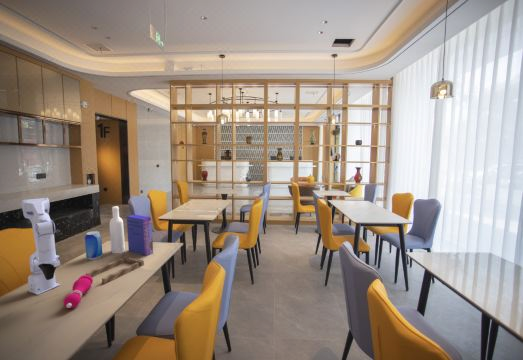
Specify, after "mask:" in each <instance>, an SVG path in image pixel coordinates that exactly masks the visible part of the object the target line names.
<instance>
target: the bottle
mask: <svg viewBox="0 0 523 360" xmlns="http://www.w3.org/2000/svg"><path fill="white" fill-rule="evenodd" d="M111 211H112V218H111V219H110V221H109V237H110V250H111V253H112V254H121V253H123V252H125V251H126V245H125V244H126V242H125V230H124V220H123V218H122V217H120V208H119V206H118V205H116V206H112V207H111Z"/></svg>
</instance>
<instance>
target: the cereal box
mask: <svg viewBox="0 0 523 360" xmlns="http://www.w3.org/2000/svg"><path fill="white" fill-rule="evenodd" d="M152 222H153V221H152V217H150V216H146V215H145V216H144V215H138V214H129V215H126V227H127V228H126V229H127V244H128V245H127V246H128V252H131V253H135V254H138V255H142V256H147V257H148V256H150V255H153V254H154V246H153V245H154V242H153V227H152V226H153V225H152V224H153V223H152Z"/></svg>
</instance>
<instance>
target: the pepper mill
mask: <svg viewBox="0 0 523 360" xmlns="http://www.w3.org/2000/svg"><path fill="white" fill-rule="evenodd" d="M93 283H94V279H93V277H91V276H89V275H86V274H84V275H81V276H79V278H78V279H76V280H75V281H74V283H72V287H71V288H72V291H71V292H69V294H68V295H66V296H65V297H64V298H63V306H64V307H65V308H67V309H73V308H76V307H77V306H79V304H81V301H82V298H83V295H84V294H87V292H89V291H90V290H91V288H92V284H93Z"/></svg>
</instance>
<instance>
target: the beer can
mask: <svg viewBox="0 0 523 360" xmlns="http://www.w3.org/2000/svg"><path fill="white" fill-rule="evenodd" d="M84 243H85V244H84V245H85V257H86V259H87V260H88V261H89V260H90V261H92V260H97V259H101V258H102V256H103V242H102V234H101V233H100V231H97V230H94V231H89V232H86V234H85V236H84Z"/></svg>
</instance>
